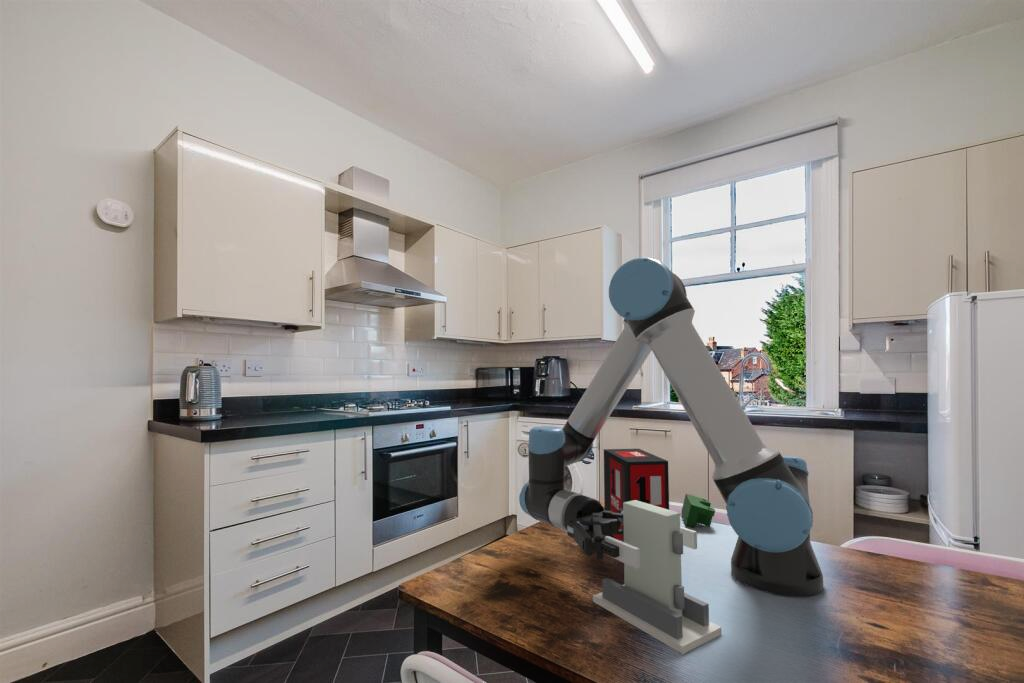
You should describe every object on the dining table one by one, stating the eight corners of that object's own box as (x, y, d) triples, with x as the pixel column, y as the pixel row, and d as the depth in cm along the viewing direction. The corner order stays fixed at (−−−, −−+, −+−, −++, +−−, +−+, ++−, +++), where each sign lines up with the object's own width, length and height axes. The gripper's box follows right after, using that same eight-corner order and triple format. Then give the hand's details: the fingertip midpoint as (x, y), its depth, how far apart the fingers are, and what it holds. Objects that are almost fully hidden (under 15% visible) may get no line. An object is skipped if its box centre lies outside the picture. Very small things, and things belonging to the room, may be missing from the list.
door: (624, 601, 78) (623, 502, 79) (637, 596, 80) (635, 500, 81) (677, 629, 70) (674, 518, 71) (690, 623, 71) (687, 515, 72)
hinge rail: (592, 601, 80) (592, 577, 81) (630, 588, 85) (629, 565, 86) (682, 654, 65) (682, 624, 66) (721, 634, 70) (720, 606, 71)
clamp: (706, 544, 119) (716, 516, 115) (681, 537, 120) (691, 509, 117) (703, 513, 129) (713, 487, 126) (681, 506, 131) (690, 480, 127)
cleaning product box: (670, 557, 99) (668, 461, 101) (629, 559, 98) (627, 462, 100) (640, 531, 116) (638, 448, 117) (604, 532, 115) (603, 449, 116)
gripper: (623, 523, 98) (717, 556, 80) (524, 547, 84) (610, 594, 66) (622, 486, 98) (715, 511, 80) (524, 504, 85) (609, 539, 67)
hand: (668, 549), depth 73 cm, fingers open, 13 cm apart
